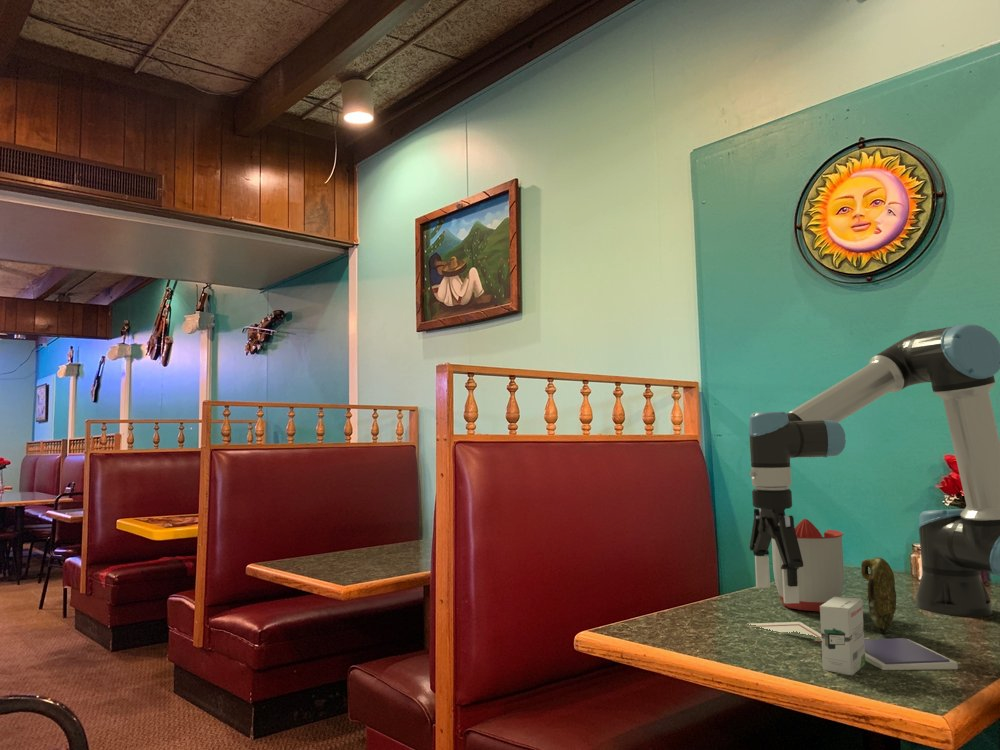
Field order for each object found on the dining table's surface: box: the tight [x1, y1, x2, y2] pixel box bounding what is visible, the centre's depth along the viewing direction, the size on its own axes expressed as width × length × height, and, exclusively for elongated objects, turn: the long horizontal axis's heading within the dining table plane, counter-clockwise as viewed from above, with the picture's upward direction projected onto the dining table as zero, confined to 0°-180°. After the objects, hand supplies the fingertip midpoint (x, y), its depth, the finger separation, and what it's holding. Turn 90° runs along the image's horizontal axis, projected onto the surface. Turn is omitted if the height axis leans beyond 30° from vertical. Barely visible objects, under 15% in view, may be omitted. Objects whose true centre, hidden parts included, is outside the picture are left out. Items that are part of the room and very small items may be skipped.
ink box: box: [819, 596, 866, 676], centre depth 125 cm, size 9×5×12 cm, turn 140°
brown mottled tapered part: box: [861, 557, 897, 634], centre depth 148 cm, size 9×5×15 cm, turn 132°
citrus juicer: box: [771, 518, 845, 613], centre depth 170 cm, size 16×17×20 cm
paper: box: [746, 621, 822, 642], centre depth 147 cm, size 16×16×1 cm
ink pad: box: [864, 637, 959, 671], centre depth 131 cm, size 13×14×2 cm
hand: (776, 595), depth 148 cm, fingers open, 13 cm apart
